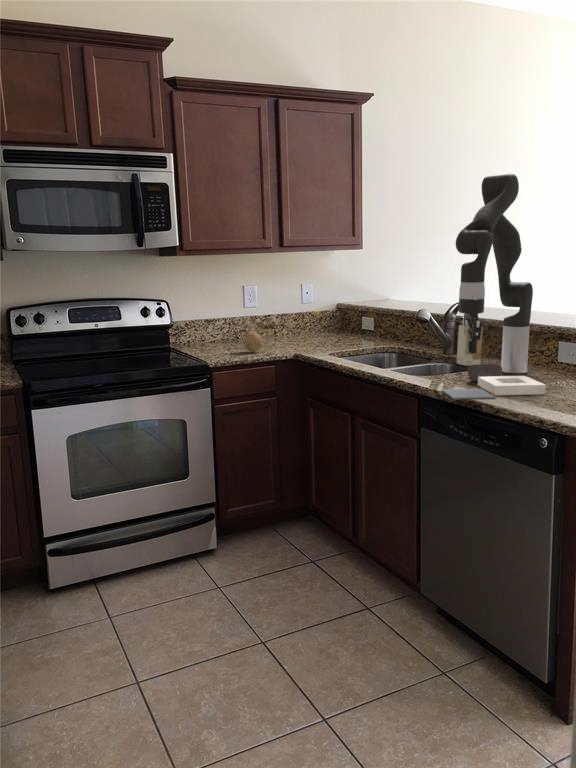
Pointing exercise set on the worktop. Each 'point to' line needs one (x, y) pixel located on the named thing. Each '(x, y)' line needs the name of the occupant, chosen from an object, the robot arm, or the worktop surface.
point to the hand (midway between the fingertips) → (469, 351)
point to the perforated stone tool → (484, 370)
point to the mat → (468, 394)
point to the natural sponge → (252, 341)
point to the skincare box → (467, 348)
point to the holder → (511, 385)
